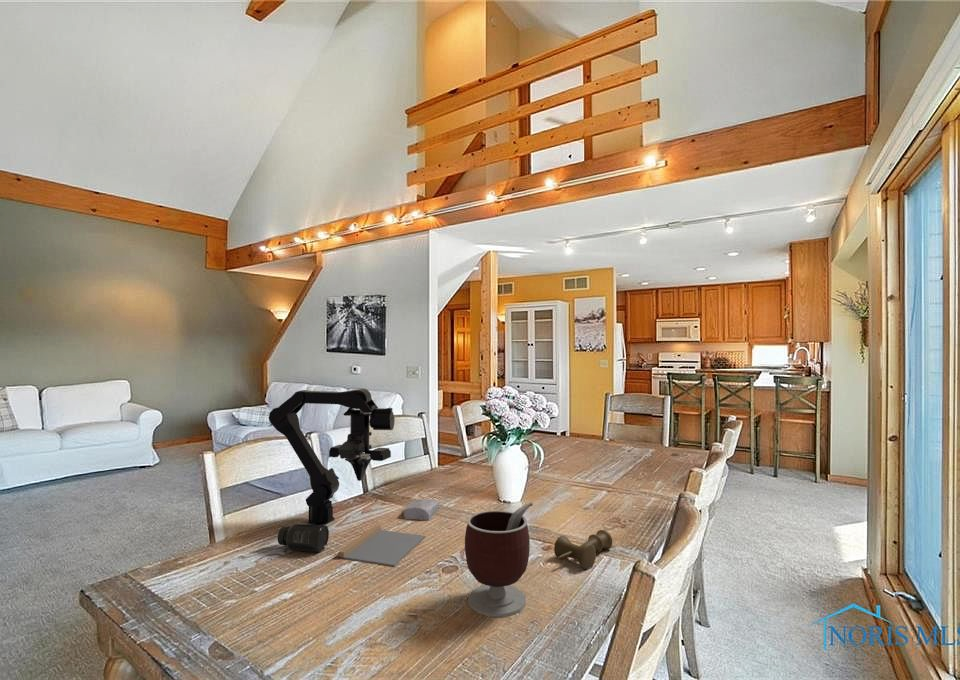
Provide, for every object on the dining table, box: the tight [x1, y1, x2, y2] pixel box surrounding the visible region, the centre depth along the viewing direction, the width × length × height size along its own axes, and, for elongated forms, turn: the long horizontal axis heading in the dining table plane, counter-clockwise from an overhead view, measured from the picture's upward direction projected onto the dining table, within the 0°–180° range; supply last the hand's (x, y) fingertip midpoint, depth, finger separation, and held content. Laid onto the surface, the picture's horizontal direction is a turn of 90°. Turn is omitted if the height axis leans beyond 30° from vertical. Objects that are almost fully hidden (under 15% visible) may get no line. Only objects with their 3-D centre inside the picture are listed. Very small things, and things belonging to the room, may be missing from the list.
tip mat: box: [337, 524, 426, 567], centre depth 129 cm, size 16×19×2 cm
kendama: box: [553, 529, 613, 570], centre depth 123 cm, size 6×10×20 cm
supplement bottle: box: [276, 522, 330, 553], centre depth 127 cm, size 7×7×12 cm
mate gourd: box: [464, 501, 533, 618], centre depth 102 cm, size 16×14×20 cm
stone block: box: [402, 498, 440, 521], centre depth 155 cm, size 12×5×10 cm
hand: (359, 480), depth 147 cm, fingers closed
